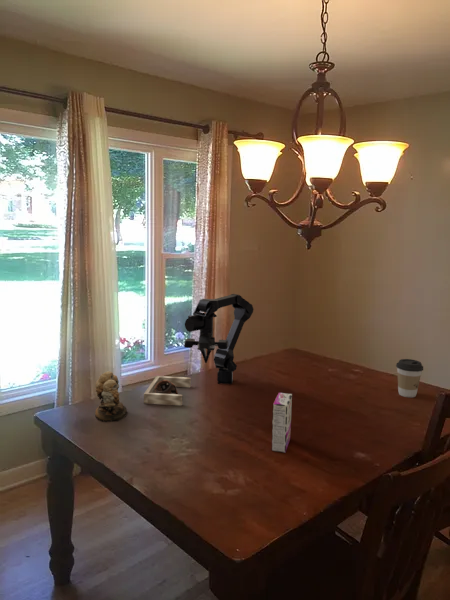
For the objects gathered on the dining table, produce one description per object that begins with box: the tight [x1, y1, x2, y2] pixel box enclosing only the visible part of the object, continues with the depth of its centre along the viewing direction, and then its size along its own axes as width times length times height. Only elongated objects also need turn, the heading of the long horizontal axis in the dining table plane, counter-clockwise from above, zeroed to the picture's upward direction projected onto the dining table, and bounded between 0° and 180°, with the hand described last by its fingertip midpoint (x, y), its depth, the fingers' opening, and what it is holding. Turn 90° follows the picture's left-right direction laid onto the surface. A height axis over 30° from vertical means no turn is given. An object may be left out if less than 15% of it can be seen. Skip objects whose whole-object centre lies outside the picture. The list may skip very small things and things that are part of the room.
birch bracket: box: [143, 375, 192, 406], centre depth 208 cm, size 16×23×4 cm
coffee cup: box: [395, 358, 424, 398], centre depth 214 cm, size 11×11×15 cm
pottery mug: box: [155, 379, 179, 394], centre depth 206 cm, size 12×10×8 cm
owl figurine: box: [94, 371, 128, 423], centre depth 185 cm, size 18×12×17 cm, turn 15°
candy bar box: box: [271, 392, 293, 453], centre depth 163 cm, size 11×5×16 cm, turn 164°
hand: (206, 362), depth 215 cm, fingers closed
